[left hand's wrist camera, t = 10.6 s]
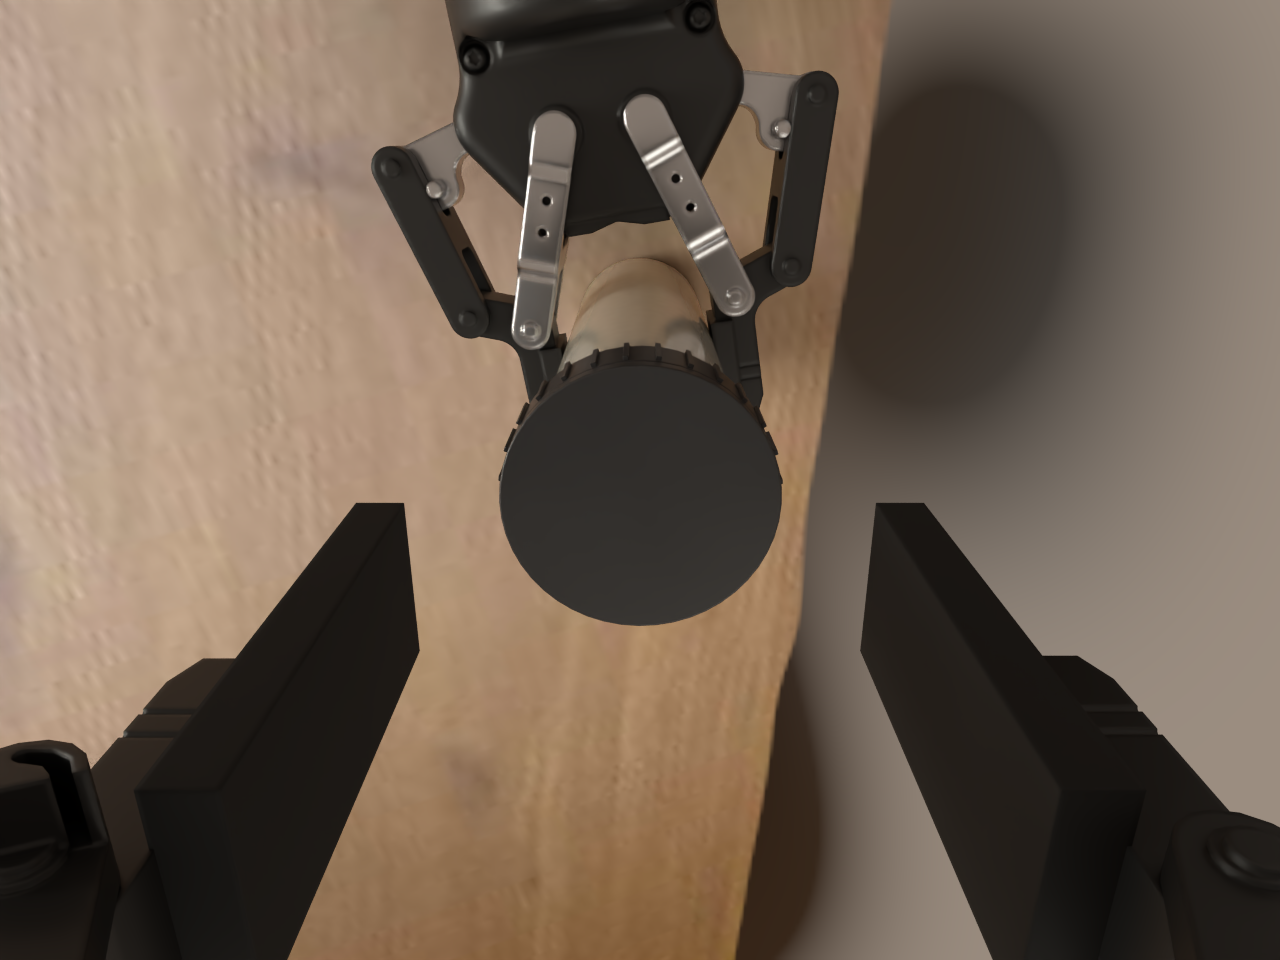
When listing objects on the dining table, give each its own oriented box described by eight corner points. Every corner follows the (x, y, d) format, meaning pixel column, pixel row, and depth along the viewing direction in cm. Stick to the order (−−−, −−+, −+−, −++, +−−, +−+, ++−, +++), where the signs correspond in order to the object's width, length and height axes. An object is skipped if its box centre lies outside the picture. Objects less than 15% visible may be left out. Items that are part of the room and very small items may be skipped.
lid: (502, 339, 18) (488, 359, 16) (782, 343, 18) (796, 363, 16) (513, 588, 20) (501, 627, 18) (764, 590, 20) (775, 631, 18)
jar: (579, 257, 34) (517, 378, 17) (702, 258, 34) (766, 381, 17) (580, 377, 35) (526, 597, 18) (698, 378, 35) (751, 600, 19)
